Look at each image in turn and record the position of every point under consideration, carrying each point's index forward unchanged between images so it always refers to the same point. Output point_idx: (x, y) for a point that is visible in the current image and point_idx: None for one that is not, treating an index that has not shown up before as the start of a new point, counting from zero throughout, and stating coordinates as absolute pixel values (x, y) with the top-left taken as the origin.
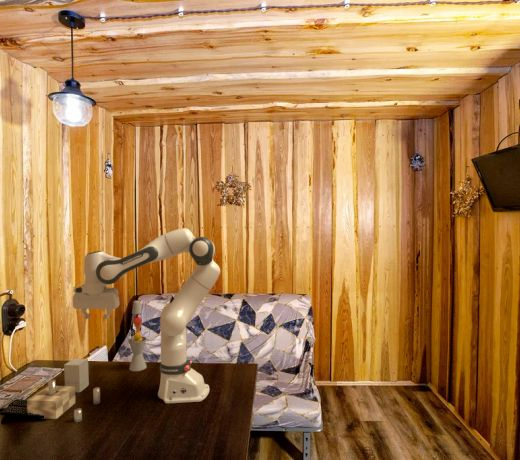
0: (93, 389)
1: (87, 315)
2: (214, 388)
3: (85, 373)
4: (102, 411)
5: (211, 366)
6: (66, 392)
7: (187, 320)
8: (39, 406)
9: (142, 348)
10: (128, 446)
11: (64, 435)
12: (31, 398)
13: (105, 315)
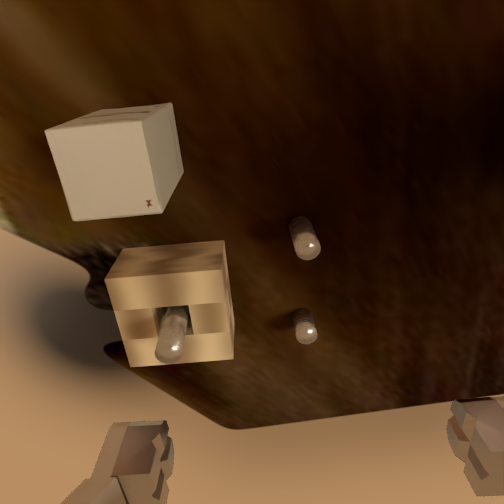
0: (299, 256)
1: (165, 498)
2: None
3: (165, 142)
4: (350, 268)
5: None
6: (223, 310)
7: None
8: None
9: None
10: (486, 375)
11: (309, 369)
12: (135, 358)
13: (492, 486)
